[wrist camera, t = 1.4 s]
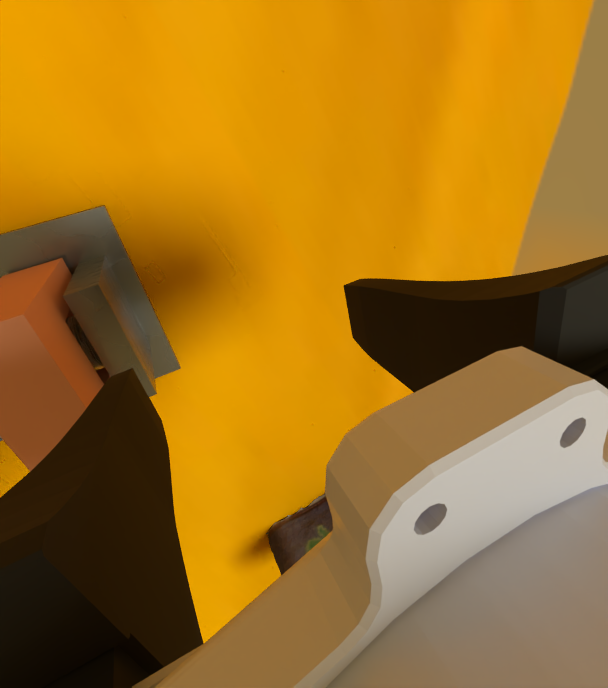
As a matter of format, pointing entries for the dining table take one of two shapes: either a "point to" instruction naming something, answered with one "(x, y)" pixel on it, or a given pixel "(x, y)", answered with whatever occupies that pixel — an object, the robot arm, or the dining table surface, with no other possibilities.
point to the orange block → (40, 362)
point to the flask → (300, 533)
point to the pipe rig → (97, 292)
